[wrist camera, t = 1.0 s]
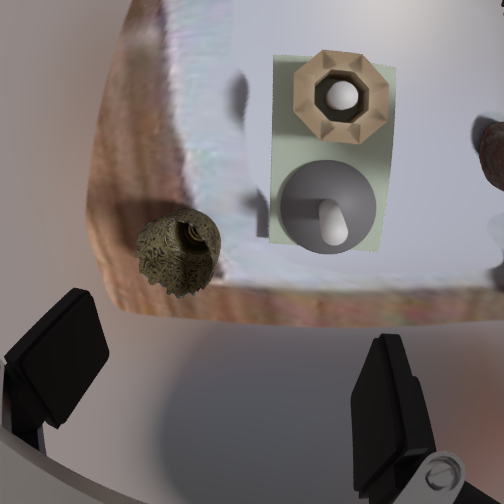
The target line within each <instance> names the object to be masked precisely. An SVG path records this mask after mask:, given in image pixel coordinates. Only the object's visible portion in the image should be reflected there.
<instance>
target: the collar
mask: <svg viewBox="0 0 504 504" xmlns="http://www.w3.org/2000/svg"><path fill="white" fill-rule="evenodd" d="M326 78H329V79H339V80H346V82H348V83H350V84H352V85H353V86H354V87H355V88H356V90H357V92H358V110H357V113H355V114H354V115H353V116H352V117H351V118H349V119H348V120H347V121H346V122H345V123H342V122H332V121H329V120H328V119H327V118H326V116H325V115H324V114H323V113H322V112H321V111H320V110H319V109H318V108H317V107H316V106H315V105H314V95H315V87H317V86H318V85H319V84H320V83H321V82H323V81H324V80H325V79H326ZM388 103H389V83H388V82H387V81H386V80H385V79H384V78H383V76H382V75H381V74H380V73H379V72H378V71H377V70H376V69H375V67H374V66H373V65H372V64H371V63H370V62H369V61H368V60H367V59H366V58H365V57H364V56H363V55H362V54H356V53H349V52H339V51H330V50H322V51H321V52H319V53H318V54H317V55H316V56H314V57H313V58H312V59H311V60H309V61H308V62H307V63H306V64H305V65H303V66H302V67H301V68H300V69H299V70H298V71H296V72H295V73H294V97H293V112H294V113H295V114H296V115H297V116H298V117H299V118H300V119H301V120H302V121H303V122H304V123H305V124H306V125H307V126H308V127H309V129H310V130H311V131H312V132H313V133H314V134H315V135H316V136H317V137H318V138H319V139H320V141H331V142H341V143H351V144H359V145H360V144H361V143H362V142H363V141H364V140H366V139H367V138H368V137H369V136H370V135H372V134H373V133H374V132H375V131H376V130H378V129H379V128H380V127H381V126H383V125H384V124H385V123H386V122H387V121H388Z"/></svg>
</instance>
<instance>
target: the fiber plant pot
mask: <svg viewBox="0 0 504 504" xmlns="http://www.w3.org/2000/svg"><path fill="white" fill-rule="evenodd" d="M145 226H146V227H145V228H144V229H142V230H141V231H140V232H139V234H138V239H137V241H136V242H135V244H136V245H137V246H138V247H140V248H139V249H138V250H137V252H136V255H135V257H138V258H140V262H139V271H140V273H141V274H142V275H144V276H146V277H147V278H148V282H149V283H150V285H155V284H156V283H160V284H161V285H162V287H167V294H168V295H171V294H173V293H174V294H175V296H176V297H177V298H183V297H185V296H186V295H187V294H189V293H191V294H192V296H194V295H195V294H196V293H198V291H199V289H200V288H202V289H205V288H206V286H207V284H208V283H210V281H211V279H212V276H213V273H214V270H215V267H216V264H217V261H218V258H219V254H220V249H221V238H220V233H219V231H218V228H217V226H216V225H215V223H214V222H213V221H212V220H211V219H210V218H209V217H208V216H207V215H205V214H204V213H202V212H199V211H197V210H192V209H183V210H178V211H174V212H171V213H169V214H167V215H164V216H162V217H160V218H158V219H156V220H154V221H152V222H149V223H148V224H146V225H145ZM193 227H195V228H196V229H197V232H198V233H199V235H197V234H196V233H195V232H194V229H193Z"/></svg>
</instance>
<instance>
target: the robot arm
mask: <svg viewBox="0 0 504 504" xmlns="http://www.w3.org/2000/svg"><path fill="white" fill-rule="evenodd" d="M108 357H109V349H108V346H107V343H106V340H105V336H104V333H103V330H102V327H101V323H100V320H99V317H98V313H97V309H96V306H95V303H94V299H93V297H92V296H91V294H90V292H89V291H87V290H83V289H79V288H73V289H71V290H70V291H69V292H68V293H67V294H66V295H65V296H64V297H63V298H62V299H61V300H59V302H57V303H56V304H55V305H54V306H53V307H52V308H51V309H50V310H49V311H48V312H47V313H46V314H45V315H44V316H43V317H42V318H41V319H40V320H39V321H38V322H37V323H36V324H35V325H34V326H33V327H32V328H31V329H30V330H29V331H28V332H27V333H26V334H25V335H24V336H23V337H22V338H21V339H20V340H19V341H18V342H17V343H16V344H15V345H14V346H13V347H12V348H11V349H10V350H9V351H8V353H7V354H6V355H5V356H4V358H5V360H6V362H7V364H6V365H4V363H3V361H2V360H1V359H0V504H147V503H144V502H141V501H139V500H136V499H133V498H131V497H128V496H125V495H123V494H121V493H118V492H116V491H114V490H111V489H109V488H107V487H104V486H102V485H100V484H98V483H96V482H94V481H92V480H90V479H88V478H86V477H84V476H82V475H80V474H78V473H76V472H74V471H72V470H70V469H68V468H66V467H64V466H63V465H61V464H59V463H57V462H56V461H54V460H52V459H50V458H49V457H47V455H46V448H45V442H44V434H43V426H42V424H43V422H44V421H46V423H47V424H49V425H50V426H52V427H54V428H56V429H58V428H59V427H60V425H61V424H63V423H65V422H66V421H67V419H68V418H69V416H70V414H71V413H72V412H73V410H74V409H75V407H76V406H77V404H78V402H79V401H80V399H81V398H82V396H83V395H84V393H85V392H86V391H87V389H88V388H89V386H90V385H91V383H92V382H93V380H94V379H95V377H96V376H97V374H98V373H99V372H100V370H101V369H102V367H103V366H104V364H105V363H106V362H107V360H108ZM351 417H352V436H353V469H354V470H353V471H354V472H353V475H354V476H353V479H354V490H355V491H359V499H365V498H369V504H500V503H499V502H497V501H496V500H494V499H493V498H491V497H489V496H488V495H486V494H484V493H483V492H482V491H480V490H479V489H477V488H475V487H474V486H472V485H471V484H469V483H468V482H466V481H465V476H466V470H465V467H464V464H463V462H462V461H461V459H460V458H458V457H457V456H456V455H455V454H453V453H450V452H447V451H439V452H437V451H436V447H435V441H434V437H433V432H432V428H431V424H430V419H429V416H428V411H427V407H426V403H425V400H424V396H423V392H422V389H421V385H420V382H419V380H418V378H417V377H415V376H412V373H411V370H410V366H409V363H408V360H407V356H406V353H405V349H404V346H403V343H402V340H401V337H400V335H398V334H381V335H380V337H379V338H375V339H374V340H373V342H372V345H371V347H370V350H369V353H368V355H367V358H366V361H365V363H364V365H363V368H362V371H361V373H360V375H359V378H358V380H357V383H356V385H355V387H354V389H353V392H352V395H351Z"/></svg>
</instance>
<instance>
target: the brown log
mask: <svg viewBox="0 0 504 504" xmlns="http://www.w3.org/2000/svg"><path fill="white" fill-rule="evenodd" d="M479 159H480V163H481V166H482V170H483V172H484V174H485V177H486V179H487V180H488V181H489V182H490V183H491V184H492V185H493V186H495V187H496V188H498V189H500V190H502V191H504V122H496V123H493V124H491V125H490V126H489V127H488V128H487V129H486V131H485V132H484V136H483V139H482V141H481V146H480V154H479Z"/></svg>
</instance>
